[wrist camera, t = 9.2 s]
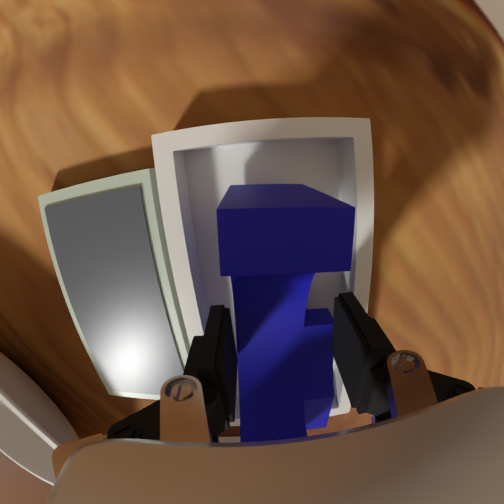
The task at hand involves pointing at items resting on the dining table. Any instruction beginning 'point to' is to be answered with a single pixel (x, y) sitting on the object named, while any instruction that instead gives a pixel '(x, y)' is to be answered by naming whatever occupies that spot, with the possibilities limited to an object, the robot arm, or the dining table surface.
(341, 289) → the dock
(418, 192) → the dining table surface
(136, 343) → the phone
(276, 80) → the dining table surface
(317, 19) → the dining table surface
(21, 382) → the soup bowl
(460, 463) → the robot arm
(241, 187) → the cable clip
